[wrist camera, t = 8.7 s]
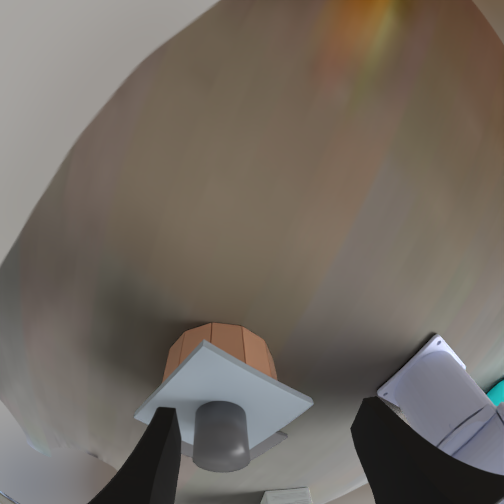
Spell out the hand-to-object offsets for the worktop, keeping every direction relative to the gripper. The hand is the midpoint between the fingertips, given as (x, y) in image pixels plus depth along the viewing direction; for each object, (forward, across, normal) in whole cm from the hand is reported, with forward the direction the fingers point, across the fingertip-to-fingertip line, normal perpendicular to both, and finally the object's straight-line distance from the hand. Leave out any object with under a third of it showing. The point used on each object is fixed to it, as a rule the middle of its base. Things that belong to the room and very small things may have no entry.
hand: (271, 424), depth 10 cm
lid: (+6, +2, +6) cm, 9 cm away
